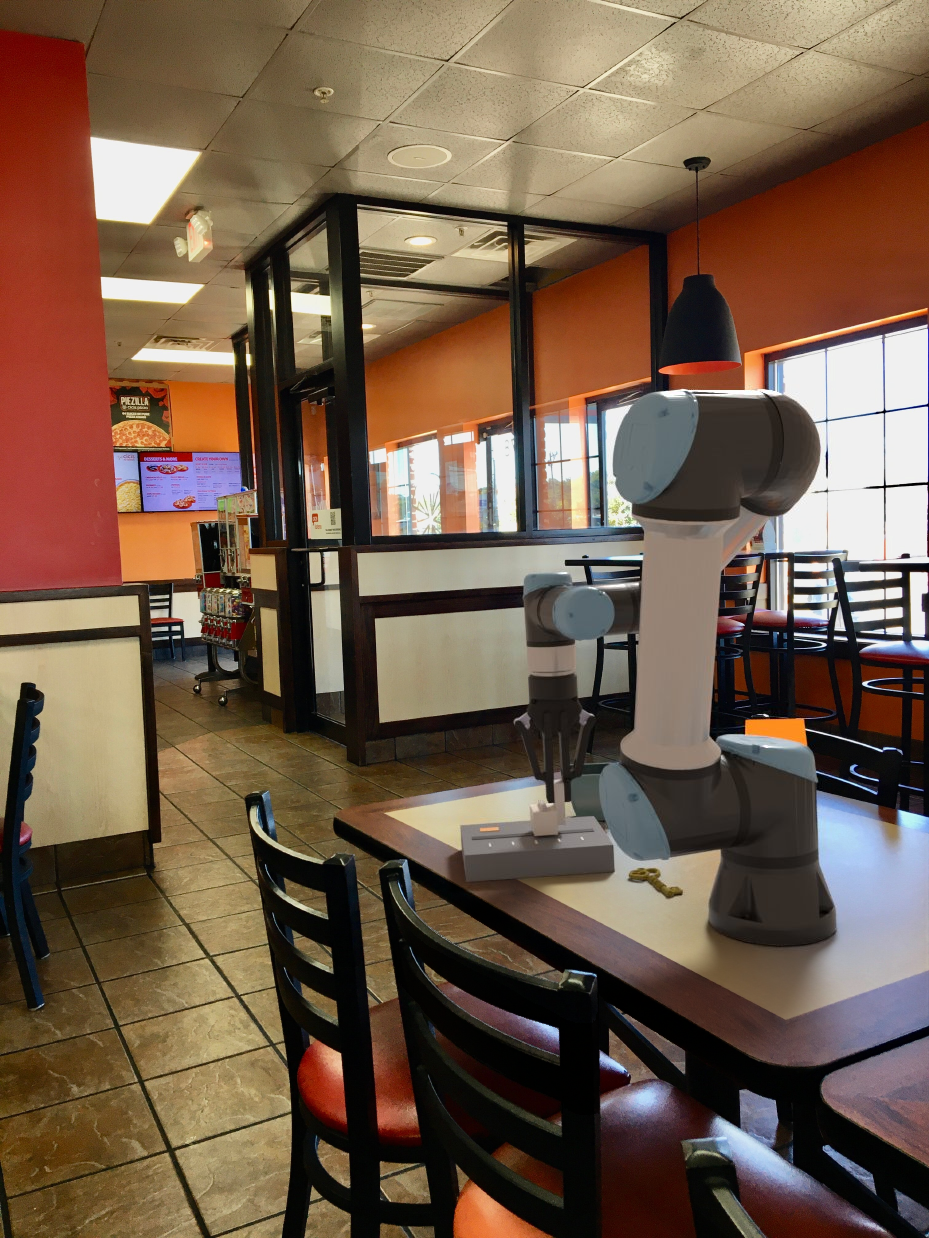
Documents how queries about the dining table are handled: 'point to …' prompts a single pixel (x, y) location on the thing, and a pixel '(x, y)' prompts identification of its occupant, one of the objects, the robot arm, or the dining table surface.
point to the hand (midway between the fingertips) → (559, 822)
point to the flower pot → (588, 792)
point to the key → (654, 880)
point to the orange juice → (778, 729)
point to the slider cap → (543, 818)
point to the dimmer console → (535, 850)
